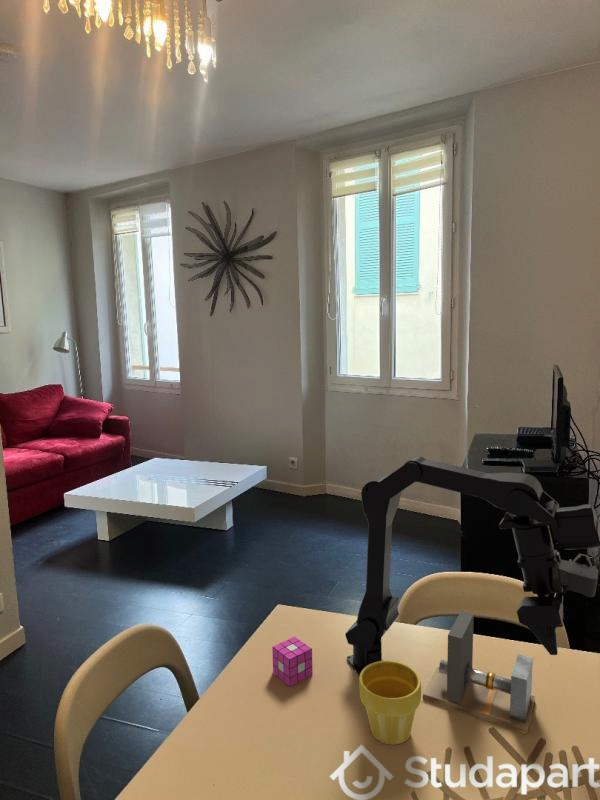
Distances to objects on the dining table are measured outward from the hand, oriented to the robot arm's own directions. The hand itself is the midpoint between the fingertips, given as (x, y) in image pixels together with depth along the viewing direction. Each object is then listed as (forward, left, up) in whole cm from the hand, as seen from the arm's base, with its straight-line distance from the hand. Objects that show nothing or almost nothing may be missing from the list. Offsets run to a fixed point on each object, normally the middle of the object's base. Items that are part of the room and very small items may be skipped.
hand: (556, 640), depth 93 cm
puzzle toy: (-29, -37, -16) cm, 50 cm away
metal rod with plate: (-9, -8, -14) cm, 19 cm away
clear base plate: (-9, -8, -15) cm, 20 cm away
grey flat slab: (-12, -10, -14) cm, 21 cm away
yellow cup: (-9, -27, -16) cm, 32 cm away
